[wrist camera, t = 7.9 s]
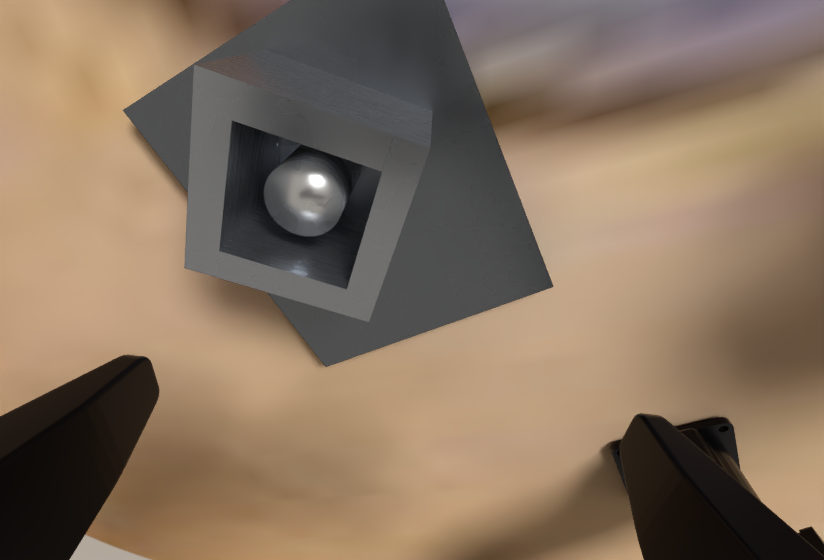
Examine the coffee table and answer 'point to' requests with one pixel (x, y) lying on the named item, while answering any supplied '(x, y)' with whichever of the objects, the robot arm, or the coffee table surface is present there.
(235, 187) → the collar
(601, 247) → the coffee table surface
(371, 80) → the flange plate
